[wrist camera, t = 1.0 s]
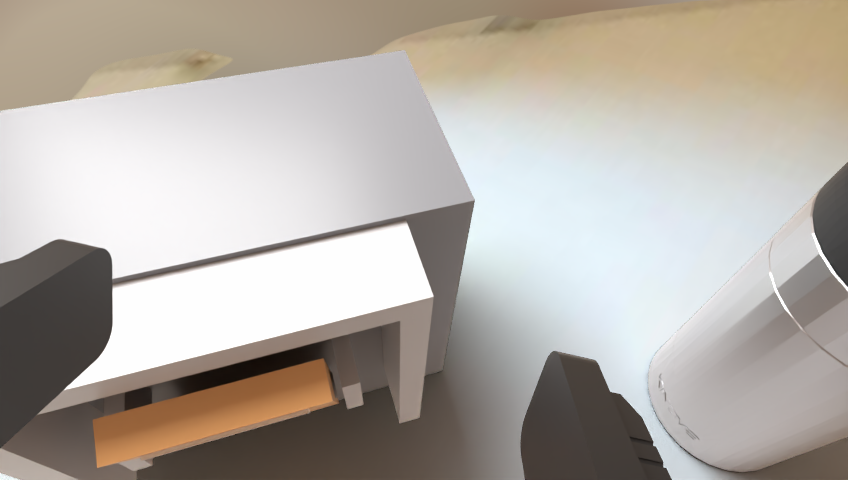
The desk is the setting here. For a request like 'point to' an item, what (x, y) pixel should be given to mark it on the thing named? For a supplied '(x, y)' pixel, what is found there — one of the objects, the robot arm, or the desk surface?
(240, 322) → the box
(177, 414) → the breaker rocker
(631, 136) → the desk surface
